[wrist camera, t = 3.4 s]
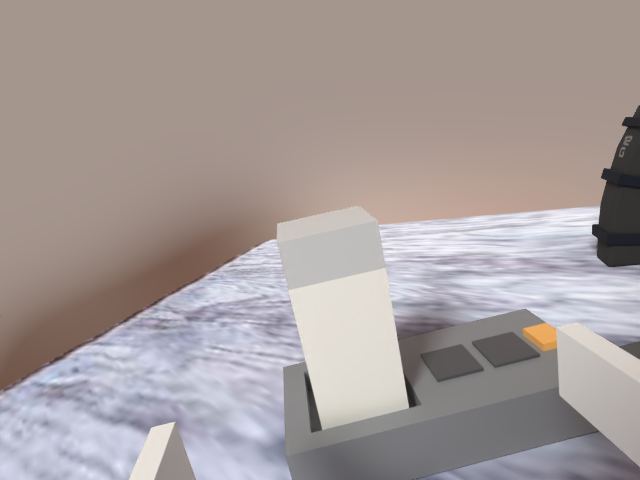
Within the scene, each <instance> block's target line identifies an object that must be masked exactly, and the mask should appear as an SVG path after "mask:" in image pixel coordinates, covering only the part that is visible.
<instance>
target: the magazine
mask: <svg viewBox="0 0 640 480" xmlns="http://www.w3.org/2000/svg"><path fill="white" fill-rule="evenodd" d="M622 126H626V127H628V128H627V129H626V131H625V133H624V135H623V137H622V139H621V141H620V143H619V145H618V147H617V150H616V153H615V157H614V160H613V163H612V166H611V169H606V168H604V170H603V173H602V176H601V178H602V179H605V180H607V182H606V186H605V189H604V193H603V197H602V201H601V206H600V216H599V224H593V225H592V234H593V235H594V236H596V237H597V238H598V249H597V256H598V258H599V259H600V260H602V261H603V262H604V263H605V264H606V265H608V266H623V265H635V264H640V105H639V106H638V108H637V110H636V112H635V114H634V116H633V117H626V118H625V119H624V121H623V123H622Z"/></svg>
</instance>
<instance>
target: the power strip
mask: <svg viewBox="0 0 640 480" xmlns="http://www.w3.org/2000/svg"><path fill="white" fill-rule="evenodd" d="M398 345H399V351H400V357H401V363H402V369H403V375H404V381H405V387H406V393H407V398H408V404H409V408H408V409H404V410H400V411H396V412H392V413H388V414H384V415H380V416H376V417H372V418H368V419H364V420H360V421H356V422H352V423H348V424H344V425H340V426H336V427H332V428H328V429H324V430H322V426H321V422H320V418H319V414H318V410H317V406H316V402H315V397H314V393H313V389H312V385H311V381H310V377H309V373H308V369H307V364H306V362H303V363H299V364H295V365H291V366H287V367H283V371H284V409H285V447H286V459H287V462H288V466H289V470H290V473H291V477H292V480H413V479H417V478H421V477H425V476H429V475H433V474H436V473H440V472H444V471H448V470H452V469H455V468H459V467H463V466H467V465H471V464H475V463H478V462H482V461H486V460H490V459H494V458H497V457H501V456H505V455H509V454H513V453H517V452H520V451H524V450H528V449H532V448H536V447H539V446H543V445H547V444H551V443H555V442H559V441H562V440H566V439H570V438H574V437H578V436H581V435H585V434H589V433H593V432H597V431H599V430H598V429H597V428H596V427H594V426H593V425H592V424H591V423H590V422H589V421H588V420H587V419H586V418H584V417H583V416H582V415H581V414H580V413H579V412H578V411H577V410H575V409H574V408H573V407H572V406H571V405H570V404H569V403H568V402H566V401H565V400H564V399H563V398H562V397H561V396H560V395H559V376H558V354H557V332H556V329H555V328H553V327H552V326H550V325H549V324H547V323H546V322H544V321H543V320H541V319H540V318H538V317H537V316H535V315H534V314H533V313H531V312H530V311H528V310H527V309H522V310H518V311H514V312H510V313H506V314H502V315H497V316H493V317H489V318H485V319H481V320H477V321H473V322H469V323H464V324H460V325H456V326H452V327H448V328H444V329H440V330H436V331H431V332H427V333H423V334H419V335H415V336H411V337H407V338H402V339H398ZM619 348H621V349H623V350H624V351H626V352H628V353H629V354H631V355H633V356H634V357H636V358H638V359H639V360H640V341H639V342H635V343H631V344H627V345H623V346H619Z"/></svg>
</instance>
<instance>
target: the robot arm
mask: <svg viewBox="0 0 640 480" xmlns="http://www.w3.org/2000/svg"><path fill="white" fill-rule="evenodd" d="M556 332H557V354H558V376H559V395H560V396H561V397H562V398H563V399H564V400H565V401H566V402H568V403H569V404H570V405H571V406H572V407H573V408H574V409H575V410H577V411H578V412H579V413H580V414H581V415H582V416H583V417H584V418H586V419H587V420H588V421H589V422H590V423H591V424H592V425H593V426H594V427H596V428H597V429H598V430H599V431H600V432H601V433H602V434H603V435H605V436H606V437H607V438H608V439H609V440H610V441H611V442H612V443H613V444H615V445H616V446H617V447H618V448H619V449H620V450H621V451H622V452H624V453H625V454H626V455H627V456H628V457H629V458H630V459H631V460H632V461H634V462H635V463H636V464H637V465H638V466H639V467H640V360H639V359H638V358H636V357H634V356H633V355H631V354H629V353H628V352H626V351H624V350H623V349H621V348H619V347H618V346H616V345H614V344H613V343H611V342H609V341H608V340H606V339H604V338H603V337H601V336H599V335H598V334H596V333H594V332H593V331H591V330H589V329H588V328H586V327H584V326H583V325H581V324H579V323H578V322H576V323H572V324H568V325H564V326H560V327H556ZM129 480H196V478H195V476H194V473H193V470H192V467H191V464H190V462H189V459H188V456H187V453H186V451H185V448H184V445H183V442H182V440H181V437H180V434H179V431H178V429H177V426H176V423H175V422H172V423H168V424H164V425H160V426H156V427H152V428H151V430H150V432H149V435H148V437H147V439H146V441H145V444H144V446H143V448H142V451H141V453H140V455H139V457H138V460H137V462H136V464H135V467H134V469H133V471H132V473H131V476H130V478H129Z"/></svg>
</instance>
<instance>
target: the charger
mask: <svg viewBox="0 0 640 480" xmlns="http://www.w3.org/2000/svg"><path fill="white" fill-rule="evenodd" d="M277 245H278V249H279V253H280V257H281V261H282V266H283V270H284V274H285V278H286V282H287V286H288V290H289V294H290V299H291V303H292V307H293V311H294V315H295V319H296V323H297V327H298V331H299V336H300V340H301V344H302V348H303V352H304V356H305V360H306V364H307V369H308V373H309V377H310V381H311V385H312V389H313V393H314V397H315V402H316V406H317V410H318V414H319V418H320V422H321V426H322V430H324V429H328V428H332V427H336V426H340V425H344V424H348V423H352V422H356V421H360V420H364V419H368V418H372V417H376V416H380V415H384V414H388V413H392V412H396V411H400V410H404V409H408V408H409V404H408V398H407V393H406V387H405V381H404V375H403V369H402V363H401V357H400V351H399V345H398V339H397V333H396V327H395V321H394V315H393V309H392V303H391V297H390V291H389V285H388V279H387V273H386V267H385V261H384V256H383V250H382V244H381V238H380V232H379V226H378V220H376V219H375V218H374V217H373V216H371V215H370V214H369V213H368V212H366V211H365V210H364V209H362V208H361V207H360V206H355V207H350V208H346V209H341V210H337V211H333V212H328V213H323V214H319V215H314V216H310V217H305V218H301V219H296V220H292V221H288V222H283V223H279V224H277Z"/></svg>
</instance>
